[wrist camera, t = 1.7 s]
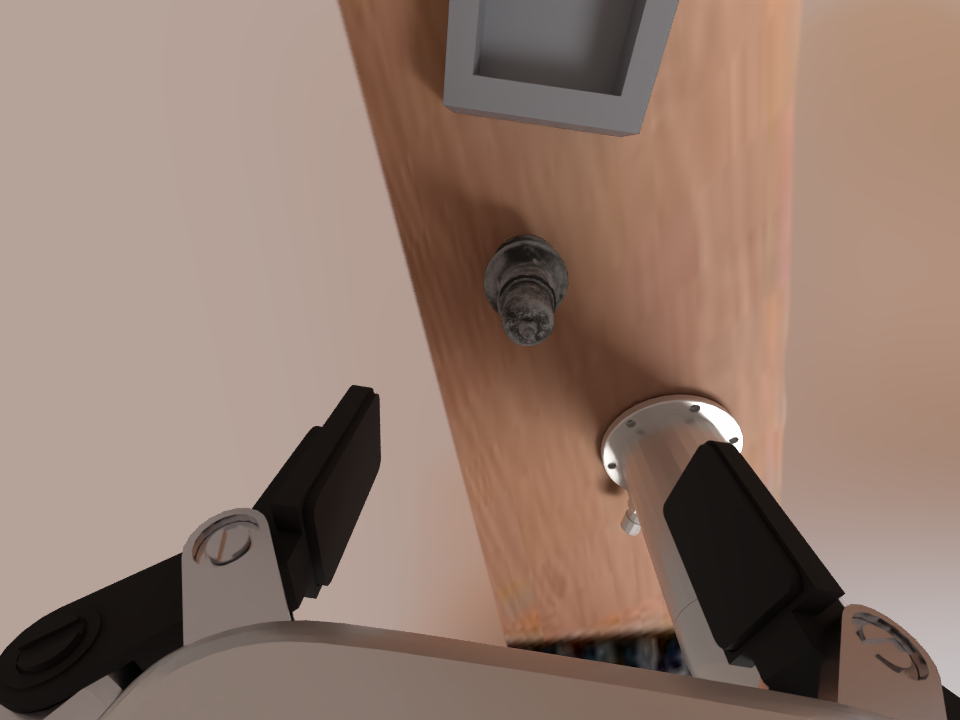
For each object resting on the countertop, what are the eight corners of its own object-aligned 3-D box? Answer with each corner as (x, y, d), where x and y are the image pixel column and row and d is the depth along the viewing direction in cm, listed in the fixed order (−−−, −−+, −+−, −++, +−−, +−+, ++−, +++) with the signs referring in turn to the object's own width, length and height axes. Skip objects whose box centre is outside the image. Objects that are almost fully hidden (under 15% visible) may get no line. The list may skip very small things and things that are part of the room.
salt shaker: (523, 318, 30) (525, 404, 20) (472, 270, 28) (445, 335, 18) (578, 269, 28) (615, 338, 17) (526, 213, 26) (532, 251, 16)
